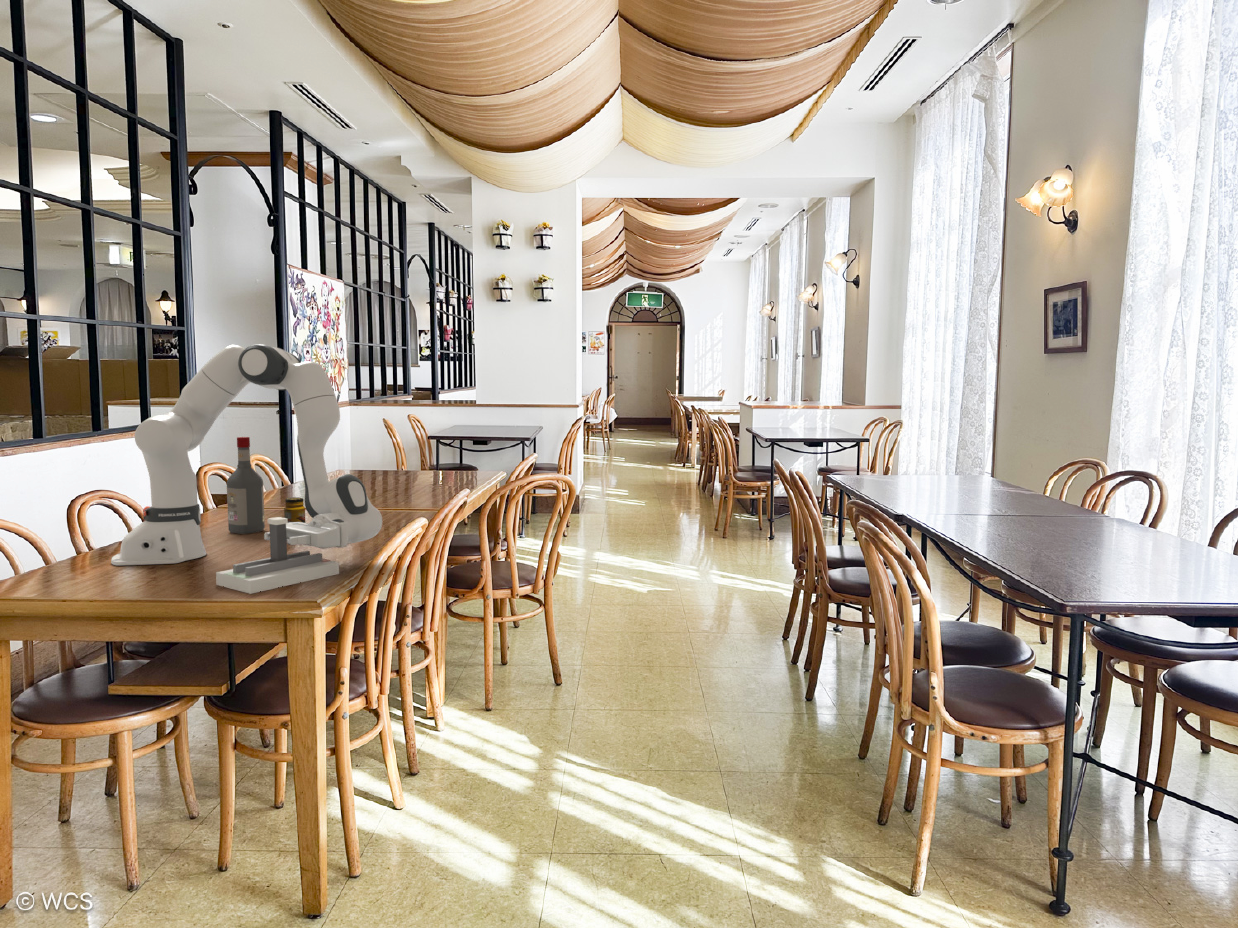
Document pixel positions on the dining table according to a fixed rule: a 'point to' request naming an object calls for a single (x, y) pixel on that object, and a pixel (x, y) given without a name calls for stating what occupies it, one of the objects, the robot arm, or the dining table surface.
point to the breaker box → (276, 572)
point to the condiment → (294, 510)
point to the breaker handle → (278, 538)
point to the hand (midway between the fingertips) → (277, 539)
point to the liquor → (245, 494)
